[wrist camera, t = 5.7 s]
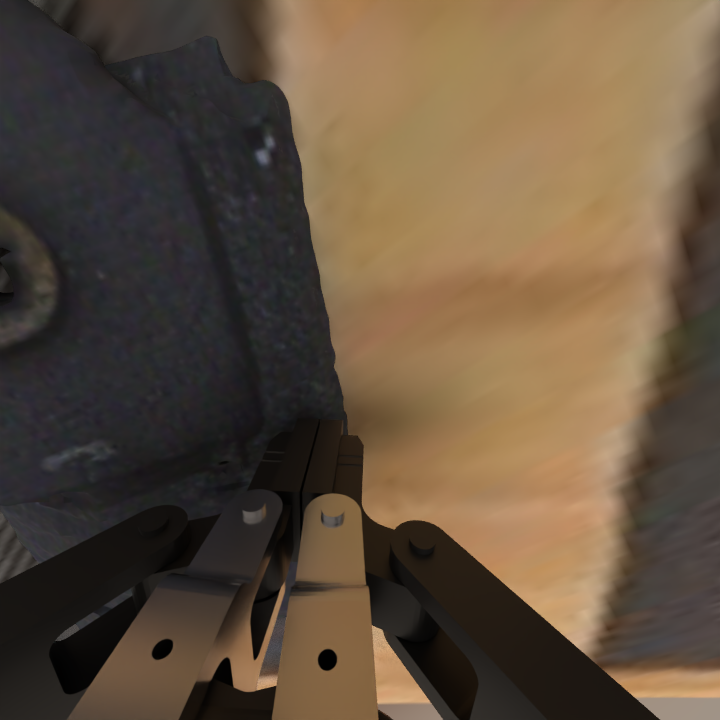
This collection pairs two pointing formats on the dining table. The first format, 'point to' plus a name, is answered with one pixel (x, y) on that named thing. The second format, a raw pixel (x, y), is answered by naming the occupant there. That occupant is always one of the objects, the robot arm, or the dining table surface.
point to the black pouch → (146, 285)
